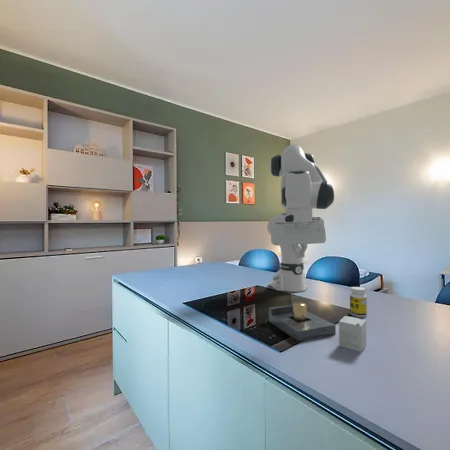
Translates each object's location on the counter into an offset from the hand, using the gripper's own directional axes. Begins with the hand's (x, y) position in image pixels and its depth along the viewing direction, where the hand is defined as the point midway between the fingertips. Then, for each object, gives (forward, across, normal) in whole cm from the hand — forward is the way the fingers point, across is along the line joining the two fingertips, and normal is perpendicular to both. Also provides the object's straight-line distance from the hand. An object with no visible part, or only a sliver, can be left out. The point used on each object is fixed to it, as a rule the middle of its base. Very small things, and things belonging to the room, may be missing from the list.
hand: (299, 257), depth 92 cm
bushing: (+24, 0, 0) cm, 24 cm away
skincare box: (+24, -6, +18) cm, 30 cm away
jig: (+24, 0, 0) cm, 24 cm away
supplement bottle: (+24, -28, -2) cm, 37 cm away
